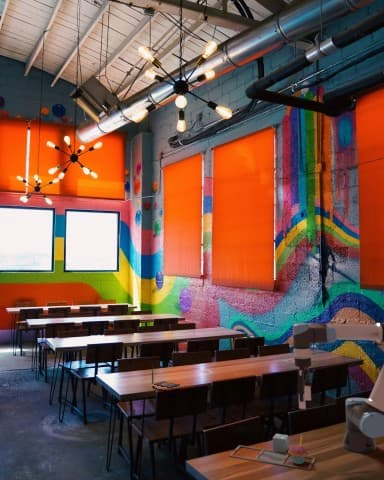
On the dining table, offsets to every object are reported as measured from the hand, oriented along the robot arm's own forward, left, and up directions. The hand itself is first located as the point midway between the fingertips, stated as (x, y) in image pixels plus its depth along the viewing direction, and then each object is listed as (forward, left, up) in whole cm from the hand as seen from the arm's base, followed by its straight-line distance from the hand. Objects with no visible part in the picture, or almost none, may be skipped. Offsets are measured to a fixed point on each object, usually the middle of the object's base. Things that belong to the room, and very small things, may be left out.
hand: (305, 404), depth 213 cm
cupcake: (+4, -3, -25) cm, 25 cm away
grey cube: (-7, -14, -25) cm, 29 cm away
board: (+4, -15, -25) cm, 29 cm away
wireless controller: (-86, -121, -25) cm, 151 cm away
